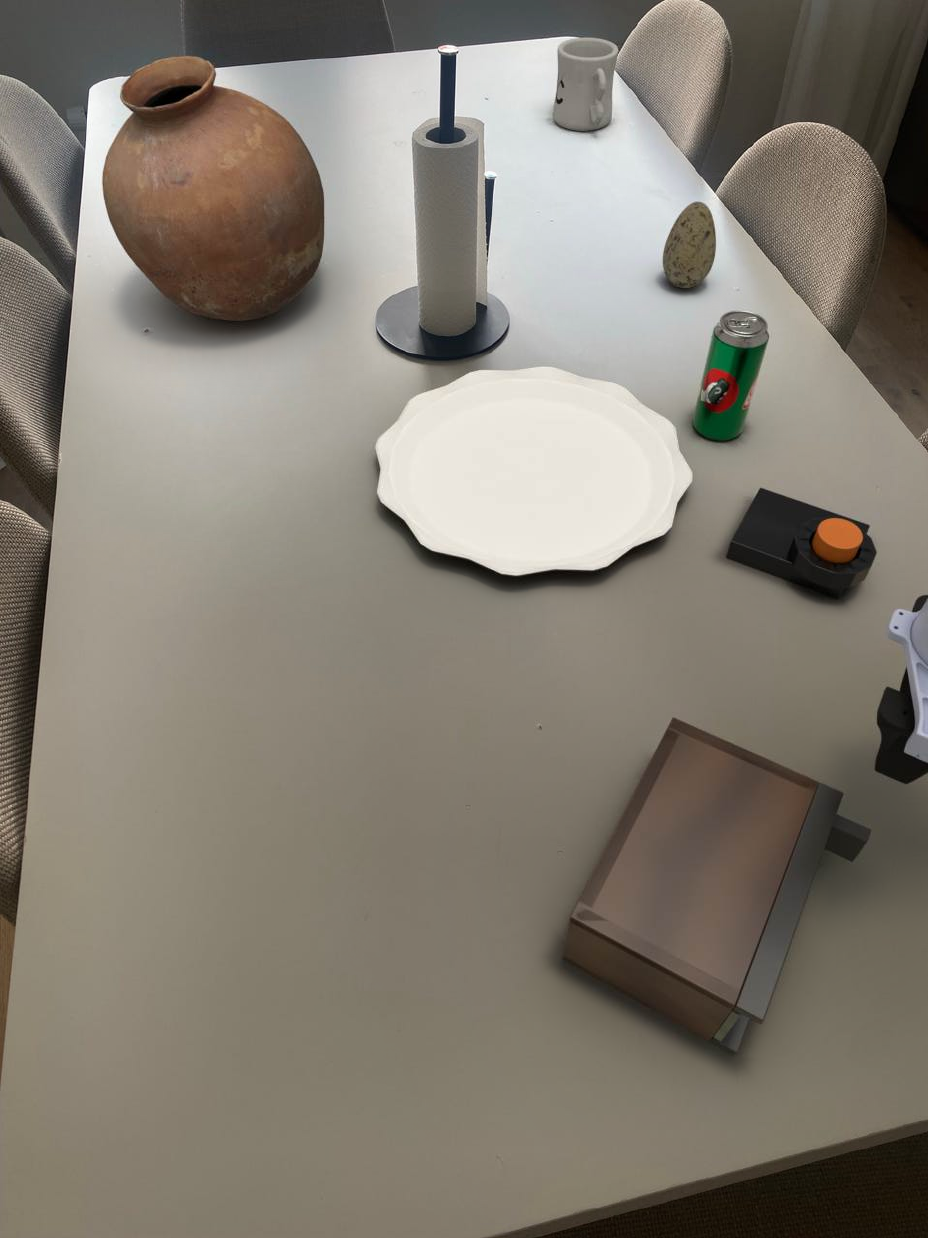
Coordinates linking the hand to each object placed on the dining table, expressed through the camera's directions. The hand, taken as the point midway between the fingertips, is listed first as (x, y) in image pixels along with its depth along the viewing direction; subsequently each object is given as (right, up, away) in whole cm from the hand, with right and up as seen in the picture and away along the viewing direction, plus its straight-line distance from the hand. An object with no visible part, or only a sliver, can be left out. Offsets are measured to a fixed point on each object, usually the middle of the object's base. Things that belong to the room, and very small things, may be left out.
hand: (904, 734), depth 58 cm
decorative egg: (-2, +48, +52) cm, 71 cm away
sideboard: (-13, -11, +3) cm, 18 cm away
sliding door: (-5, -10, +2) cm, 12 cm away
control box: (+1, +14, +23) cm, 27 cm away
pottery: (-55, +45, +51) cm, 88 cm away
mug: (-9, +83, +82) cm, 117 cm away
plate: (-22, +21, +30) cm, 43 cm away
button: (+3, +13, +19) cm, 23 cm away
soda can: (-2, +27, +35) cm, 44 cm away
